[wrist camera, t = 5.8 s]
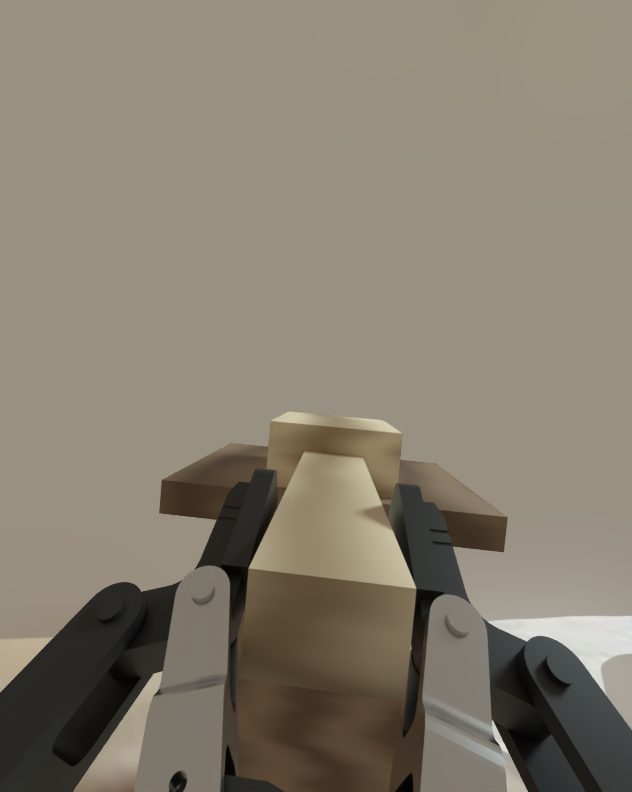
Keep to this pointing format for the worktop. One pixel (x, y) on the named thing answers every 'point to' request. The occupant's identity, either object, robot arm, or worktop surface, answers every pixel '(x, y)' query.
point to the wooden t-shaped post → (308, 708)
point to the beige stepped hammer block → (331, 563)
